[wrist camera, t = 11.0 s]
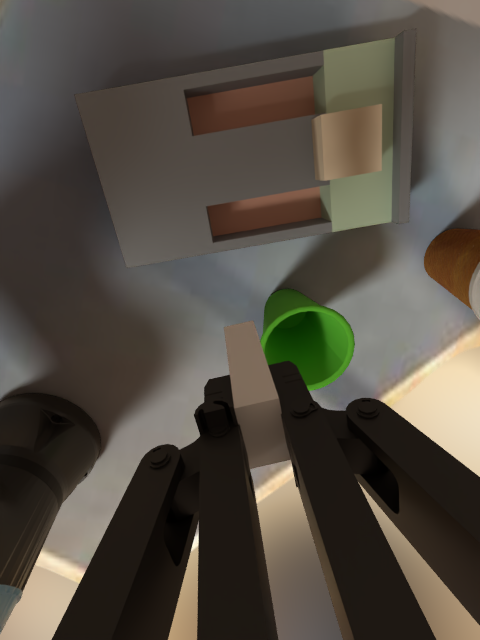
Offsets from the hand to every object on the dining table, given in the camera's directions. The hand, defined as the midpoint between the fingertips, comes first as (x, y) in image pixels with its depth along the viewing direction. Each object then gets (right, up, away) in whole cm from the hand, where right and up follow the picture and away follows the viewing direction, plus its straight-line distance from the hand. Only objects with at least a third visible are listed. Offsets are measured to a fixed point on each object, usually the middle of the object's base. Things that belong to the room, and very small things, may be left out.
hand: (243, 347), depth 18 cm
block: (+9, +17, +14) cm, 24 cm away
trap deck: (+1, +17, +18) cm, 25 cm away
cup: (+5, +3, +24) cm, 25 cm away
